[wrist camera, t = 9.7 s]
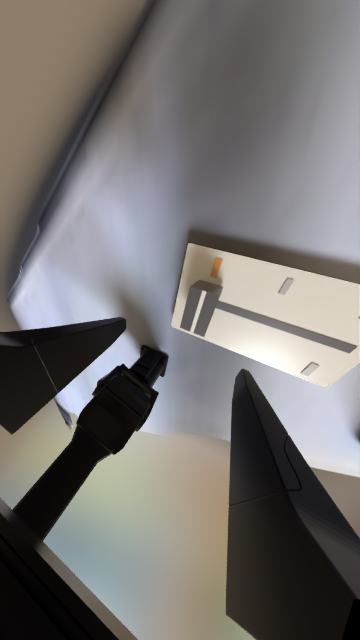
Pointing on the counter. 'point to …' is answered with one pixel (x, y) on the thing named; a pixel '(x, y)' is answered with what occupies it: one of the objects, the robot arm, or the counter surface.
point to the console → (277, 314)
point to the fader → (200, 306)
